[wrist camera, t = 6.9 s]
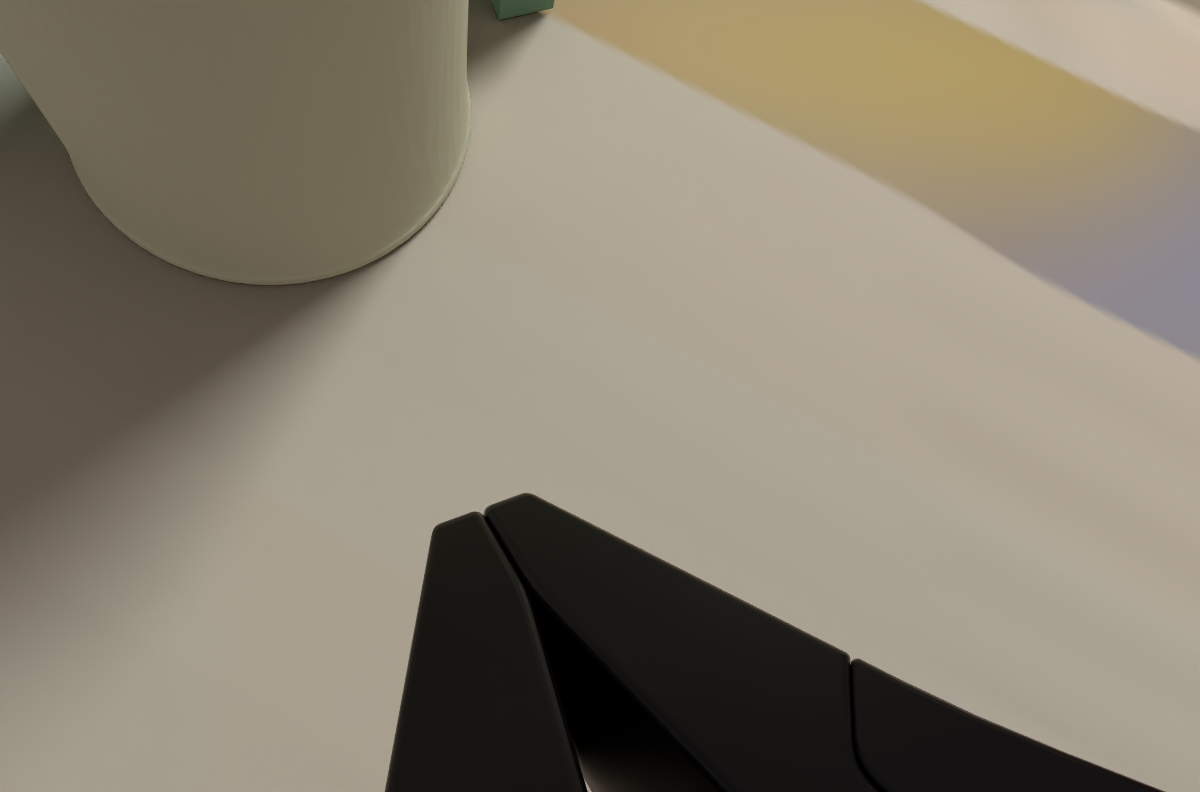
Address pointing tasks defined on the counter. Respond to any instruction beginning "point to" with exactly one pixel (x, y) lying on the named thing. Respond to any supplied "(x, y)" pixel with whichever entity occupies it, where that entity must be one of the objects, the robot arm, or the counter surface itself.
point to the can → (253, 122)
